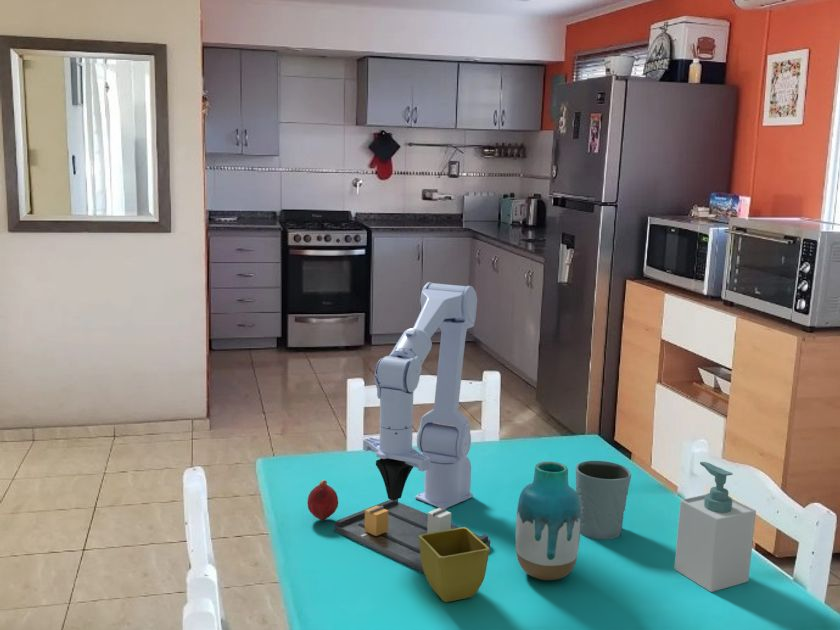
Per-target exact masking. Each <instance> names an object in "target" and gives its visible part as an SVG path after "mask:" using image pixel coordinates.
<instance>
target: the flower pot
mask: <svg viewBox="0 0 840 630" xmlns="http://www.w3.org/2000/svg"><path fill="white" fill-rule="evenodd" d="M473 533H474V532H472V531H471V530H470V529H469V528H467V527H466V526H463V527H460V528H456V529H451V530H445V531H439V532H433V533H427V534H421V535H419V544H420V553H421V562H422V567H423V570H424V573H425V574H424V573H423V574H424V575H425V578H426V579H427V583H428V584H429V585H430V587H431V589H432V590H433V592H434V593H436V594H437V596H438V597H439V598H440V599H441V600H442V601H443V602H444V603H450V602H454V601H458V600H463V599H469V598H472V597H474V595H475V594H477V592H478V591H479V590H480V588H481V586H482V584H483V582H484V580H485V576H486V572H487V566H488V562H489V561H488V560H489V554H490V547H488V546H487V545H486V544H484V543H483V542H482V541H481V540H480V539H478V538H477V537H476V536H475V535H474V534H473Z"/></svg>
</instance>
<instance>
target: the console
mask: <svg viewBox="0 0 840 630" xmlns="http://www.w3.org/2000/svg"><path fill="white" fill-rule="evenodd" d="M374 506H379V507H380V506H384V509H386V510H388V531H387V532H385V533H382V534H380V535H378V536H375V535H373V534H370V533H368V532H366V531H365V510H367V509H369V508H372V507H374ZM427 522H428V513H426V512H423V511H421V510H419V509H417V508H414V507H411V506H409V505H407V504H405V503H401V502H399V499H397V500H394V501H393V500H390V499H388V500H386V501H383V502H379V503H378V504H375V505H373V506H370V507H367V508H365V509H363V510H360V511H358V512H355V513H352V514H350V515H348V516H345V517H343V518H339V519H336V523H335V524H334V529H333V530H334V532H336V533H338V534H339V535H342V536H344V537H346V538H348V539H351V540H352V541H355V542H357V543H359V544H360V545H363V546H365V547H367V548H369V549H372V550H373V551H376V552H378V553H380V554H382V555H384V556H386V557H388V558H389V559H390V558H391V559H393V560H394V561H396V562H398V563H401V564H403V565H405V566H407V567H410V568H411V569H413V570H416V571H418V572H419V573H422V574H424V575H425V573H424V570H423V567H422V562H421V553H420V544H419V535H421V534H427ZM456 528H461V526H460V527H459V526H457V525H455V524H453V523H451V529H456ZM472 533H473V534H474V535H475V536H476V537H477V538H478V539H480V540H481V541H482V542H483V543H484V544H486V545H487V546H488V547H489V548H490V547H491V539H489V535H486V534H482V535H479V534H478V533H474V532H472Z"/></svg>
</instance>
